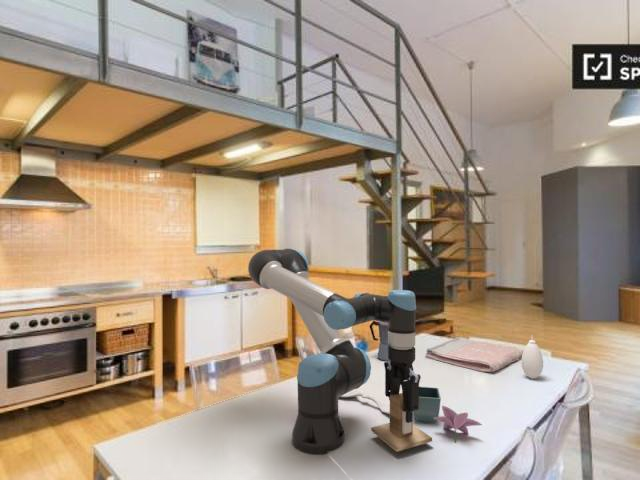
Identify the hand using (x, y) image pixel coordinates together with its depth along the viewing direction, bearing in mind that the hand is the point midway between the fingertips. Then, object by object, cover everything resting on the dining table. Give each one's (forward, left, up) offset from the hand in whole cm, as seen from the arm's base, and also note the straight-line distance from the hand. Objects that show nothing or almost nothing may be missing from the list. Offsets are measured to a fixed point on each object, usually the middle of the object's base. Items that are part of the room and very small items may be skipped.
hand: (400, 428), depth 110 cm
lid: (0, 0, -2) cm, 2 cm away
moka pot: (+42, +67, -5) cm, 79 cm away
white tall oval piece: (+80, +18, -5) cm, 82 cm away
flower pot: (+16, +9, -5) cm, 19 cm away
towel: (+81, +49, -5) cm, 95 cm away
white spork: (+6, +28, -5) cm, 29 cm away
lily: (+16, -4, -5) cm, 18 cm away
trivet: (0, 0, -4) cm, 5 cm away
